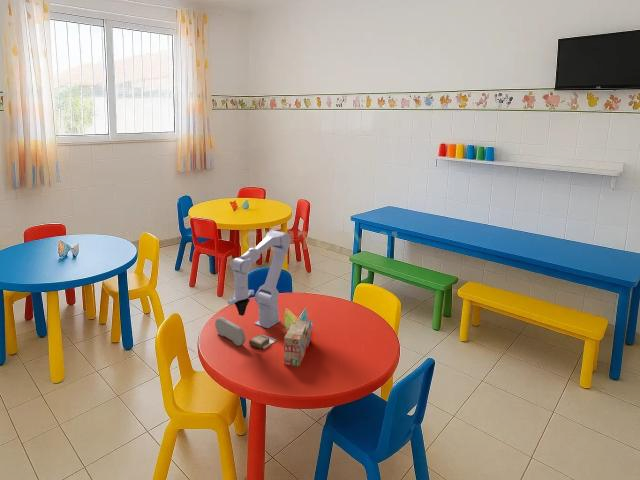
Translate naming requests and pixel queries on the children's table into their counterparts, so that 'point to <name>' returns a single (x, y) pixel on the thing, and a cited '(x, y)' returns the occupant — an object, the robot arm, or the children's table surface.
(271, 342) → the mat
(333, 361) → the children's table surface
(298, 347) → the stack of blocks
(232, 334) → the game controller
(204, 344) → the children's table surface
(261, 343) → the walnut tile
